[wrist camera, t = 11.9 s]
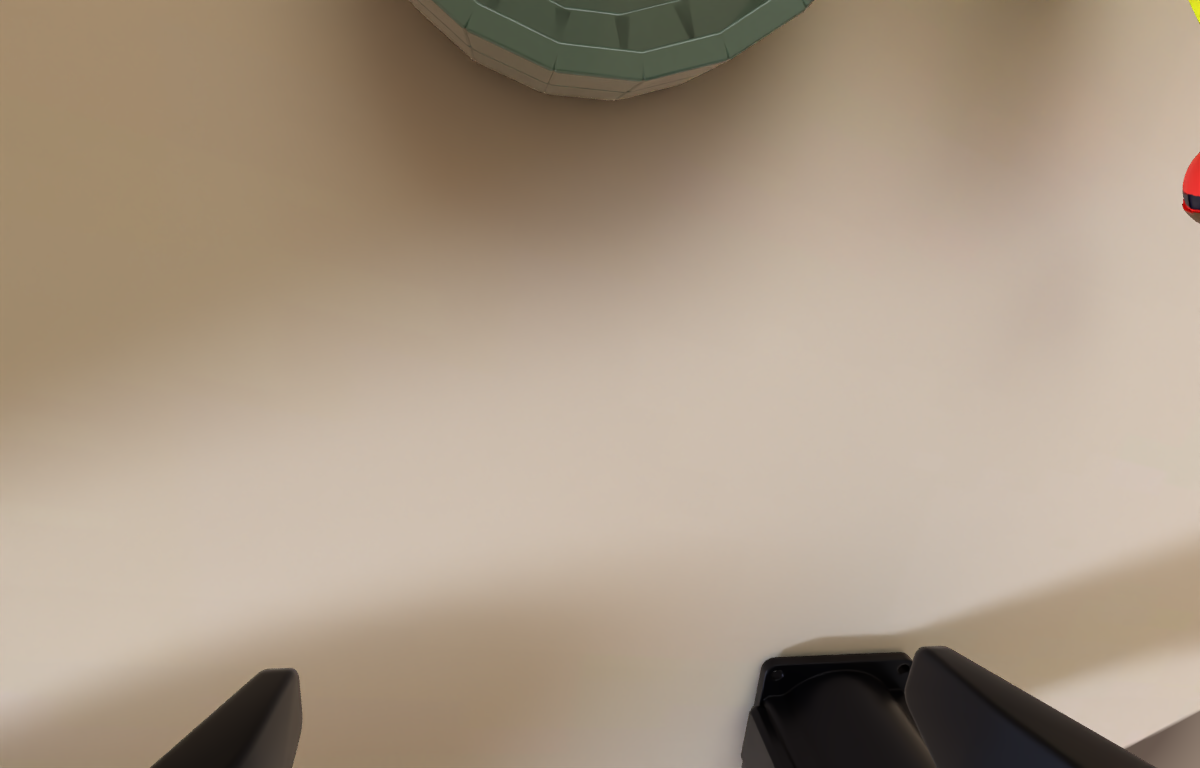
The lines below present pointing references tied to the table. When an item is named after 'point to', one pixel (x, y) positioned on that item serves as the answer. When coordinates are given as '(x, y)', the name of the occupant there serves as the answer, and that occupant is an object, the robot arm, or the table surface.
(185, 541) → the table surface
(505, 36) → the bowl
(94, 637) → the table surface
